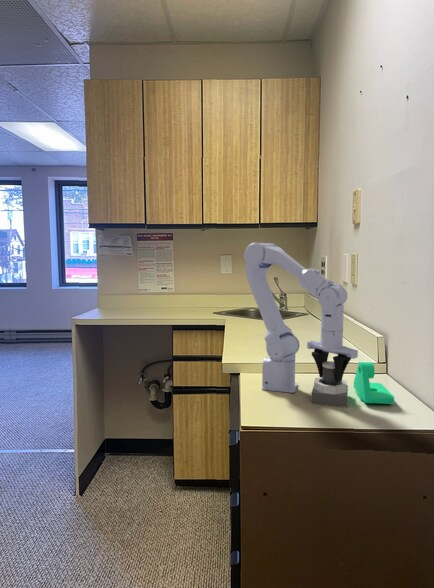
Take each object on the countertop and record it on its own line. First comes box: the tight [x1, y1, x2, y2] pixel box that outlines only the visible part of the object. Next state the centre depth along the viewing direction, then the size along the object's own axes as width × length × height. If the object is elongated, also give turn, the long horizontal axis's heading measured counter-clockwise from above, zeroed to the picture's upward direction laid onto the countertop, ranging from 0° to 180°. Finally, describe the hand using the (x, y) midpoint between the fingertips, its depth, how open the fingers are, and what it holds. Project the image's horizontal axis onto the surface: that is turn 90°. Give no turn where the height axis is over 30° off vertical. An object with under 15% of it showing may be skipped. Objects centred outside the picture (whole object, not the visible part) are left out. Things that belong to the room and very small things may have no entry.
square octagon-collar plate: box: [311, 376, 349, 408], centre depth 108 cm, size 9×9×5 cm
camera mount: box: [353, 361, 395, 405], centre depth 108 cm, size 12×8×10 cm, turn 175°
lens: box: [322, 360, 339, 386], centre depth 107 cm, size 5×5×6 cm
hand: (330, 378), depth 108 cm, fingers closed on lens, 4 cm apart
